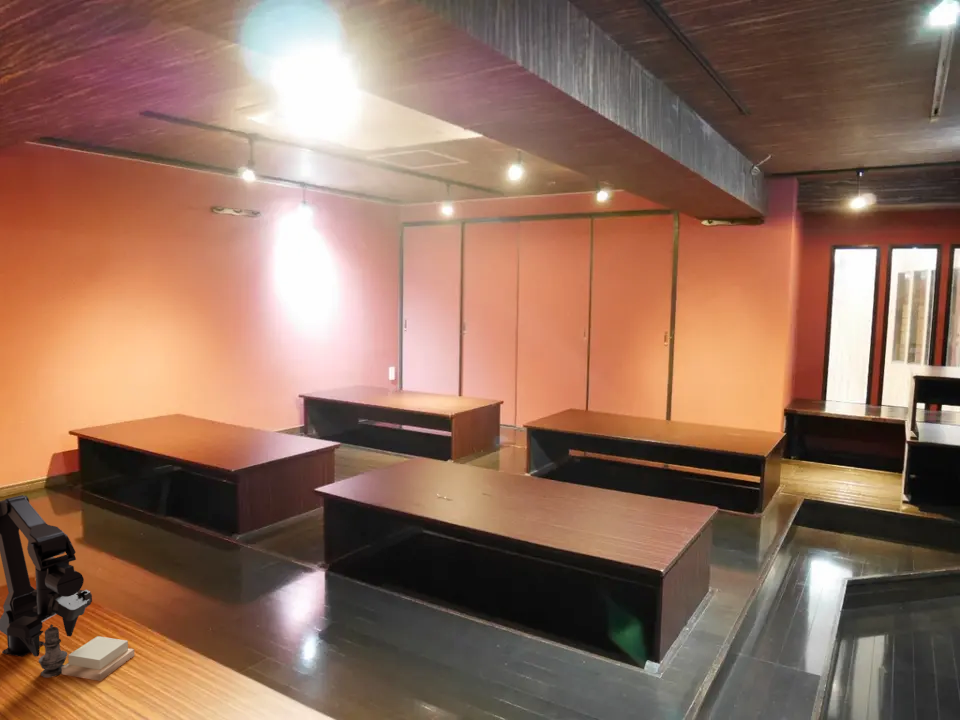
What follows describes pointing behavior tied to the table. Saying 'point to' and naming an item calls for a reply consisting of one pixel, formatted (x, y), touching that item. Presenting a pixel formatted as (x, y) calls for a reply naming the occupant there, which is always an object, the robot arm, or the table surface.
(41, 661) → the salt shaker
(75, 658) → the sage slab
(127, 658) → the birch slab
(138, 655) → the table surface
